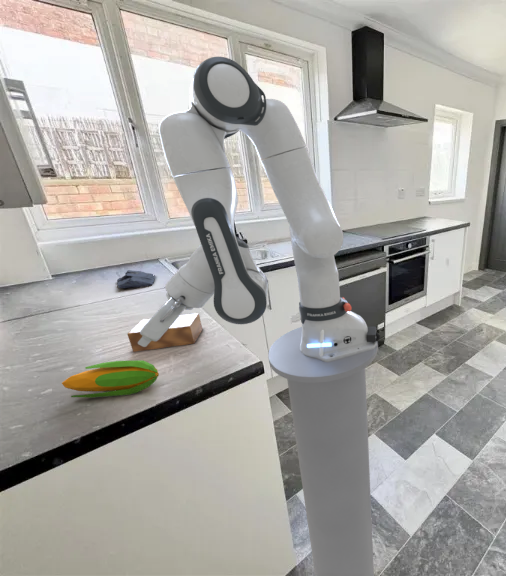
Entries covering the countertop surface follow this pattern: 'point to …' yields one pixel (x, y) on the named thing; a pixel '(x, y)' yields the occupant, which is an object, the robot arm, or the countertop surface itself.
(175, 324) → the block
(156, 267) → the countertop surface
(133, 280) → the dark slate chunk
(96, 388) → the corn
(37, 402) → the countertop surface
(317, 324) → the robot arm
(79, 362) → the countertop surface
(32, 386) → the countertop surface
